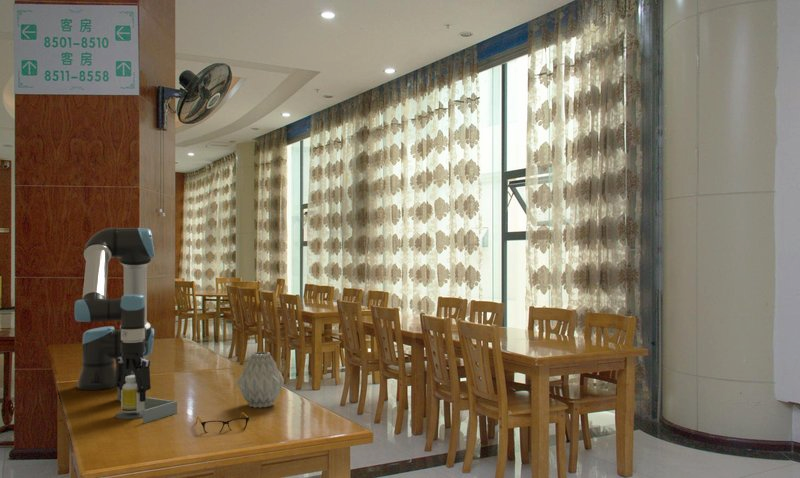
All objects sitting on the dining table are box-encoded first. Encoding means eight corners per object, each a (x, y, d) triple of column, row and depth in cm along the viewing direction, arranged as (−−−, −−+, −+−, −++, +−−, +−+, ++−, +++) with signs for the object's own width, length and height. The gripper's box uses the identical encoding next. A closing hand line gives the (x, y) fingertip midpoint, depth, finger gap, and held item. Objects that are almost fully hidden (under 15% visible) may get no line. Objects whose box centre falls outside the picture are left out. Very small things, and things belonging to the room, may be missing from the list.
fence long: (130, 406, 237) (130, 395, 237) (132, 406, 238) (132, 395, 238) (170, 413, 229) (170, 401, 229) (172, 412, 230) (172, 400, 230)
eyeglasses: (201, 435, 204) (201, 422, 204) (196, 423, 217) (196, 411, 217) (249, 430, 210) (249, 417, 210) (240, 419, 223) (240, 406, 223)
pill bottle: (135, 413, 222) (135, 378, 222) (118, 412, 224) (118, 377, 224) (147, 409, 229) (147, 374, 229) (129, 408, 230) (129, 373, 230)
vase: (244, 413, 229) (244, 358, 229) (232, 402, 243) (232, 351, 243) (290, 407, 236) (290, 354, 236) (276, 398, 251) (276, 348, 251)
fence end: (142, 422, 217) (142, 410, 217) (175, 412, 229) (175, 401, 229) (144, 423, 216) (144, 410, 216) (177, 413, 229) (177, 401, 229)
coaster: (107, 417, 224) (107, 415, 224) (134, 409, 234) (134, 408, 234) (131, 421, 219) (131, 419, 219) (157, 413, 229) (157, 412, 229)
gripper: (103, 340, 227) (103, 409, 227) (145, 344, 219) (145, 415, 219) (121, 337, 234) (121, 404, 234) (162, 341, 225) (162, 410, 225)
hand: (132, 409), depth 226 cm, fingers closed on pill bottle, 6 cm apart
